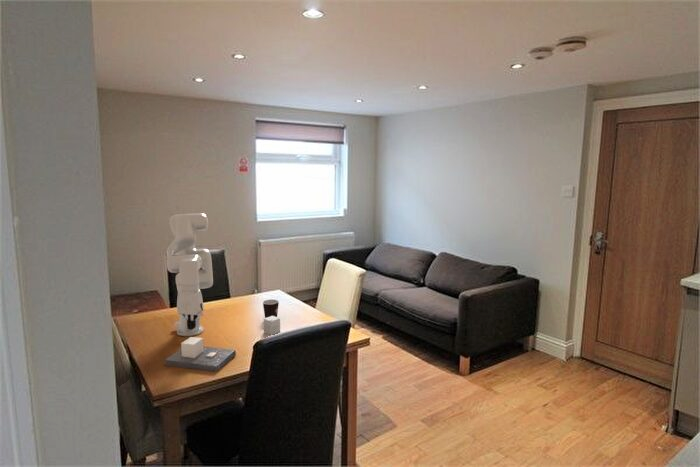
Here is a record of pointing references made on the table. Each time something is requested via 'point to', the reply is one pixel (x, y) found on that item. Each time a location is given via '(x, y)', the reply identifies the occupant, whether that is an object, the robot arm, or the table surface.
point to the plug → (192, 347)
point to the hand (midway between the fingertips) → (191, 328)
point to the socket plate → (202, 359)
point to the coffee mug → (270, 307)
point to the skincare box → (271, 325)
